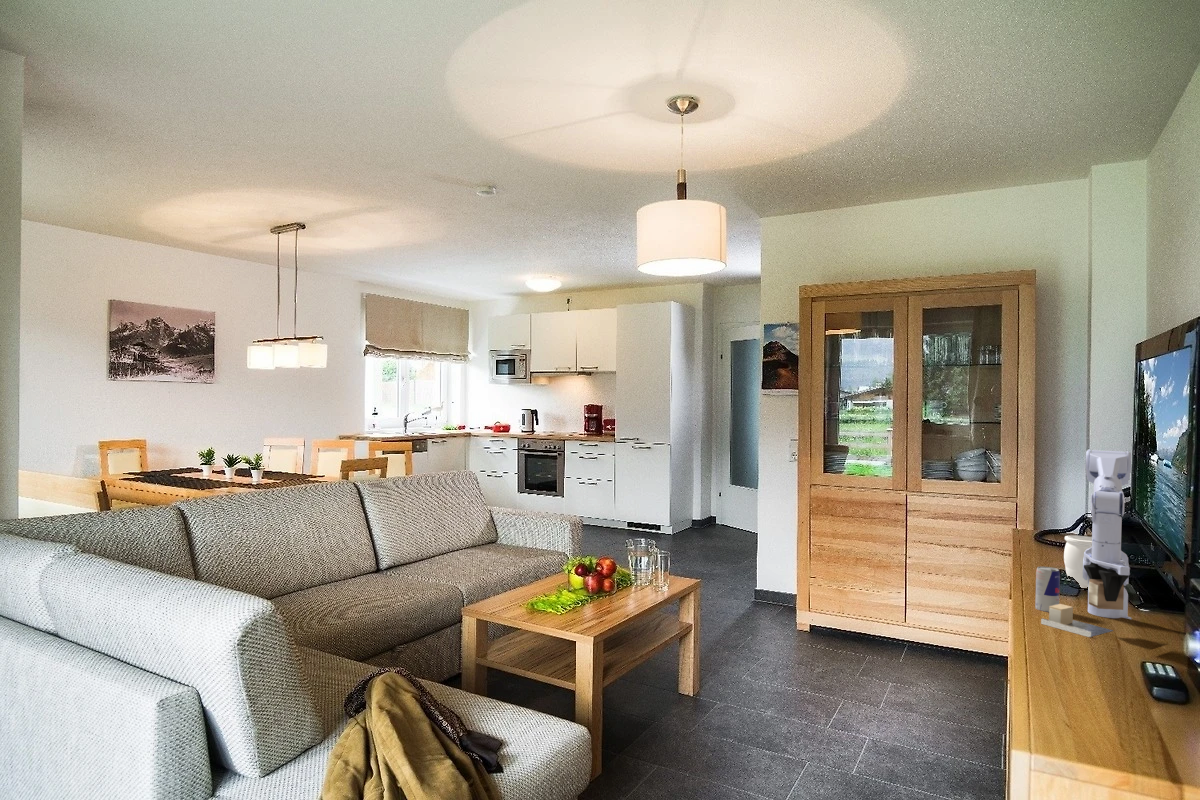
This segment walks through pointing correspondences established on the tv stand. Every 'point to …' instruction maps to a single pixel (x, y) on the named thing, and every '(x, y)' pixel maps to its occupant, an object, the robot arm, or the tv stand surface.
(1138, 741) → the tv stand surface
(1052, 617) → the beige rectangular block
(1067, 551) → the jar
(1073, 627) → the shelf board
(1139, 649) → the tv stand surface
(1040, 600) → the energy drink
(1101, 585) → the brown thick square block
